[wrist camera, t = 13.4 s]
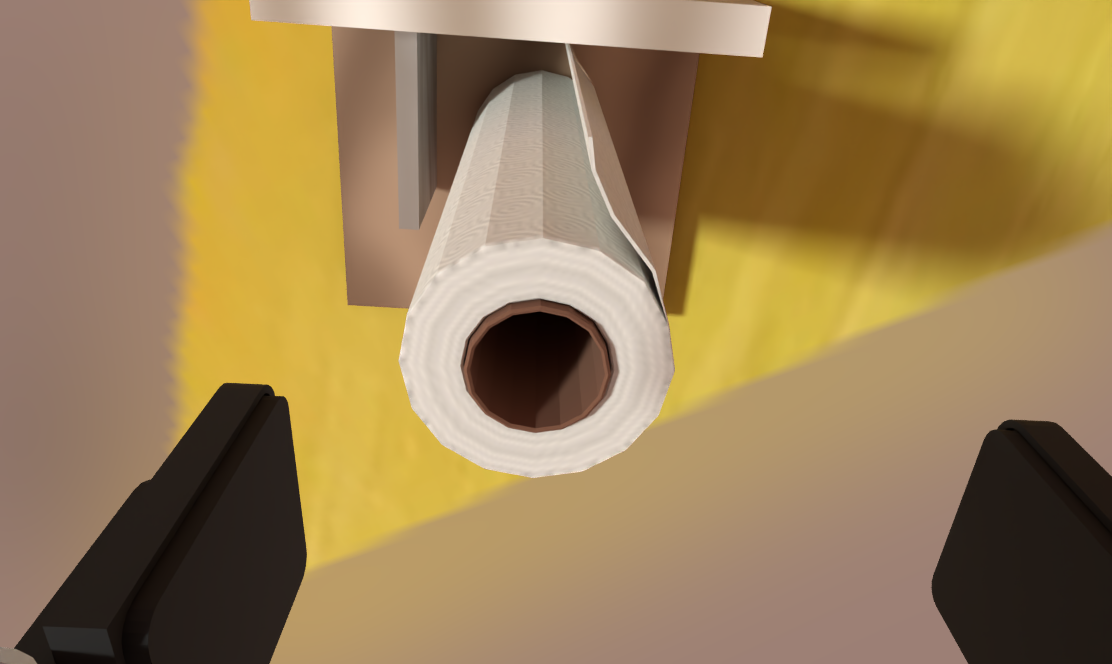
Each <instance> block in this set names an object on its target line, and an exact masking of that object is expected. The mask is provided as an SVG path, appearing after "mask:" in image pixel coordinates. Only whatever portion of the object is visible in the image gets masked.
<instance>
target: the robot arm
mask: <svg viewBox="0 0 1112 664" xmlns="http://www.w3.org/2000/svg"><path fill="white" fill-rule="evenodd" d="M306 558H307V552H306V542H305V534H304V526H303V518H302V510H301V502H300V494H299V486H298V478H297V470H296V462H295V454H294V446H293V438H292V430H291V422H290V414H289V407H288V402H287V400H286V398H285V397H284V396H275V394H274V391H273V389H272V387H271V386H269V385H262V384H240V383H224V384H223V385H222V386H220V387H219V389H218V390H217V391H216V393H215V394H214V395H213V397H212V398H211V400H210V401H209V402H208V404H207V405H206V406H205V408H204V409H203V410H202V412H201V413H200V414H199V416H198V417H197V418H196V420H195V421H194V422H193V424H192V425H191V427H190V428H189V429H188V431H187V432H186V433H185V435H184V436H183V437H182V439H181V440H180V441H179V443H178V444H177V445H176V447H175V448H174V449H173V451H172V452H171V454H170V455H169V456H168V458H167V459H166V460H165V462H164V463H163V464H162V466H161V467H160V468H159V470H158V471H157V472H156V474H155V475H154V476H153V478H152V479H151V480H148V481H145V482H143V483H141V484H140V485H139V486H138V487H137V488H136V489H135V490H134V491H133V492H132V493H131V495H130V496H129V498H128V499H127V500H126V501H125V503H124V504H123V505H122V507H121V508H120V509H119V510H118V512H117V513H116V515H115V516H114V517H113V518H112V520H111V521H110V522H109V524H108V525H107V526H106V528H105V529H104V530H103V532H102V533H101V534H100V536H99V537H98V538H97V540H96V541H95V542H94V544H93V545H92V546H91V547H90V549H89V550H88V551H87V553H86V554H85V555H84V557H83V558H82V559H81V561H80V562H79V563H78V565H77V566H76V567H75V569H74V570H73V571H72V573H71V574H70V575H69V577H68V578H67V579H66V581H65V582H64V583H63V585H62V586H61V587H60V588H59V590H58V591H57V592H56V594H55V595H54V596H53V598H52V599H51V600H50V602H49V603H48V604H47V606H46V607H45V609H43V611H42V612H41V613H40V615H39V616H38V617H37V619H36V620H35V622H34V623H33V624H32V626H31V627H30V628H29V629H28V631H27V632H26V633H25V635H24V636H23V637H22V639H21V640H20V641H19V642H18V644H17V645H16V646H15V648H14V649H11V648H2V647H0V664H269V663H270V661H271V658H272V655H273V653H274V650H275V648H276V645H277V643H278V640H279V638H280V635H281V633H282V630H283V628H284V625H285V623H286V620H287V618H288V615H289V612H290V610H291V607H292V605H293V602H294V600H295V597H296V595H297V592H298V590H299V587H300V585H301V582H302V579H303V576H304V572H305V567H306ZM932 595H933V599H934V602H935V604H936V607H937V608H938V610H939V612H940V614H941V615H942V617H943V619H944V621H945V623H946V624H947V626H948V628H949V630H950V632H951V633H952V635H953V637H954V639H955V641H956V642H957V644H958V646H959V648H960V650H961V651H962V653H963V655H964V657H965V659H966V660H967V662H968V664H1112V476H1110V475H1109V473H1107V472H1106V471H1105V470H1104V469H1103V468H1102V467H1101V466H1100V465H1099V464H1098V463H1097V462H1096V461H1095V460H1094V459H1093V458H1092V457H1091V456H1090V455H1089V454H1088V453H1087V452H1086V451H1085V450H1084V449H1083V448H1082V447H1081V446H1080V445H1079V444H1078V443H1077V442H1076V441H1075V440H1074V439H1073V438H1072V437H1071V436H1070V435H1069V434H1068V433H1067V432H1066V431H1065V430H1064V429H1063V428H1062V427H1061V426H1059V425H1058V424H1056V423H1054V422H1049V421H1027V420H1007V421H1004V422H1003V423H1002V424H1001V425H1000V426H999V427H998V429H997V430H992V431H990V432H989V433H988V434H987V435H986V437H985V439H984V441H983V444H982V446H981V449H980V452H979V455H978V457H977V460H976V463H975V465H974V468H973V471H972V473H971V476H970V479H969V481H968V484H967V487H966V489H965V492H964V495H963V497H962V500H961V503H960V505H959V508H958V511H957V513H956V516H955V519H954V521H953V524H952V527H951V529H950V532H949V535H948V537H947V540H946V543H945V546H944V548H943V551H942V553H941V556H940V559H939V561H938V564H937V567H936V570H935V572H934V575H933V579H932Z"/></svg>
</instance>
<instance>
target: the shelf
mask: <svg viewBox="0 0 1112 664" xmlns="http://www.w3.org/2000/svg"><path fill="white" fill-rule="evenodd" d="M249 1H250V11H251V20H256V21H270V22H284V23H297V24H311V25H325V26H332V40H333V57H334V75H335V92H336V109H337V126H338V144H339V161H340V178H341V195H342V213H343V230H344V247H345V265H346V282H347V299H348V305H357V306H375V307H393V308H409V307H410V304H411V301H412V299H413V296H414V293H415V290H416V287H417V284H418V281H419V278H420V276H421V273H422V270H423V267H424V264H425V261H426V258H427V256H428V253H429V250H430V247H431V244H432V241H433V238H434V236H435V233H436V230H437V227H438V224H439V221H440V218H441V215H442V213H443V210H444V207H445V204H446V201H447V198H448V195H449V193H450V190H451V187H452V184H453V181H454V178H455V175H456V173H457V170H458V167H459V164H460V161H461V158H462V155H463V152H464V150H465V147H466V144H467V141H468V138H469V135H470V132H471V130H472V127H473V124H474V121H475V118H476V115H477V112H478V110H479V109H480V107H481V106H482V104H483V103H484V101H485V100H486V98H487V97H488V95H489V94H490V93H491V91H492V90H493V89H494V88H495V87H497V86H498V85H500V84H501V83H503V82H505V81H506V80H508V79H509V78H511V77H512V76H514V75H516V74H522V73H528V72H535V71H541V70H543V71H547V72H551V73H555V74H559V75H563V76H566V77H569V78H570V79H572V74H571V70H570V65H569V60H568V55H567V50H566V46H565V43H569V44H570V48H571V52H572V54H573V56H574V59H575V60H576V62H577V63H578V65H579V66H580V67H581V69H582V70H583V72H584V73H585V75H586V76H587V77H588V79H589V80H590V82H591V83H592V85H593V86H594V88H595V91H596V94H597V97H598V100H599V103H600V106H601V109H602V112H603V115H604V118H605V121H606V124H607V127H608V130H609V133H610V136H611V139H612V142H613V145H614V148H615V151H616V154H617V157H618V160H619V163H620V166H621V169H622V172H623V175H624V178H625V181H626V184H627V187H628V190H629V193H630V196H631V199H632V202H633V205H634V208H635V211H636V214H637V217H638V219H639V222H640V225H641V228H642V231H643V234H644V237H645V240H646V243H647V246H648V249H649V252H650V255H651V258H652V261H653V264H654V267H655V270H656V274H657V278H658V282H659V286H660V290H661V294H662V298H663V296H664V290H665V283H666V276H667V269H668V263H669V256H670V249H671V242H672V236H673V229H674V222H675V215H676V209H677V202H678V195H679V188H680V182H681V175H682V168H683V161H684V155H685V148H686V141H687V134H688V128H689V121H690V114H691V107H692V101H693V94H694V87H695V80H696V74H697V67H698V60H699V53H708V54H721V55H735V56H749V57H763V52H764V46H765V41H766V35H767V30H768V24H769V19H770V14H771V8H772V7H771V6H768V5H765V4H762V3H759V2H756V1H753V0H249ZM572 80H573V79H572Z"/></svg>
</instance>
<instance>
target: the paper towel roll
mask: <svg viewBox="0 0 1112 664" xmlns="http://www.w3.org/2000/svg"><path fill="white" fill-rule="evenodd" d="M565 46H566V50H567V55H568V60H569V65H570V70H571V74H572V79H573V80H572V79H570V78H569V77H566V76H563V75H559V74H555V73H551V72H547V71H543V70H541V71H535V72H528V73H522V74H516V75H514V76H512V77H511V78H509V79H508V80H506V81H505V82H503V83H501V84H500V85H498V86H497V87H495V88H494V89H493V90H492V91H491V93H490V94H489V95H488V97H487V98H486V100H485V101H484V103H483V104H482V106H481V107H480V109H479V110H478V112H477V115H476V118H475V121H474V124H473V127H472V130H471V132H470V135H469V138H468V141H467V144H466V147H465V150H464V152H463V155H462V158H461V161H460V164H459V167H458V170H457V173H456V175H455V178H454V181H453V184H452V187H451V190H450V193H449V195H448V198H447V201H446V204H445V207H444V210H443V213H442V215H441V218H440V221H439V224H438V227H437V230H436V233H435V236H434V238H433V241H432V244H431V247H430V250H429V253H428V256H427V258H426V261H425V264H424V267H423V270H422V273H421V276H420V278H419V281H418V284H417V287H416V290H415V293H414V296H413V299H412V301H411V304H410V307H409V310H408V313H407V318H406V323H405V329H404V335H403V340H402V346H401V351H400V357H399V364H400V367H401V371H402V375H403V378H404V382H405V385H406V389H407V392H408V396H409V399H410V403H411V406H412V409H413V410H414V411H415V412H416V414H417V415H418V416H419V417H420V419H421V420H422V421H423V422H424V423H425V425H426V426H427V427H428V428H429V429H430V431H431V432H432V433H433V434H434V436H435V437H436V438H437V439H438V440H439V442H440V443H441V444H442V445H443V446H445V447H447V448H449V449H451V450H452V451H454V452H456V453H458V454H459V455H461V456H463V457H465V458H466V459H468V460H470V461H472V462H474V463H475V464H477V465H479V466H481V467H482V468H484V469H489V470H494V471H499V472H505V473H510V474H515V475H521V476H526V477H532V478H536V477H543V476H551V475H558V474H566V473H573V472H581V471H584V470H586V469H588V468H590V467H592V466H594V465H596V464H598V463H600V462H602V461H604V460H606V459H608V458H610V457H612V456H614V455H617V454H618V453H621V452H623V451H625V450H626V449H627V448H628V447H629V446H630V445H631V444H632V443H633V442H634V441H635V440H636V439H637V438H638V437H639V436H640V434H641V433H642V432H643V431H644V430H645V429H646V428H647V427H648V426H649V425H650V424H651V423H652V422H653V421H654V420H655V419H656V417H657V416H658V415H659V412H660V410H661V407H662V404H663V401H664V399H665V396H666V393H667V391H668V388H669V385H670V382H671V380H672V377H673V374H674V371H675V367H674V360H673V352H672V344H671V337H670V329H669V322H668V318H667V314H666V310H665V306H664V302H663V298H662V294H661V290H660V286H659V282H658V278H657V274H656V270H655V267H654V264H653V261H652V258H651V255H650V252H649V249H648V246H647V243H646V240H645V237H644V234H643V231H642V228H641V225H640V222H639V219H638V217H637V214H636V211H635V208H634V205H633V202H632V199H631V196H630V193H629V190H628V187H627V184H626V181H625V178H624V175H623V172H622V169H621V166H620V163H619V160H618V157H617V154H616V151H615V148H614V145H613V142H612V139H611V136H610V133H609V130H608V127H607V124H606V121H605V118H604V115H603V112H602V109H601V106H600V103H599V100H598V97H597V94H596V91H595V88H594V86H593V85H592V83H591V82H590V80H589V79H588V77H587V76H586V75H585V73H584V72H583V70H582V69H581V67H580V66H579V65H578V63H577V62H576V60H575V59H574V56H573V54H572V52H571V48H570V44H569V43H565Z"/></svg>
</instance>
